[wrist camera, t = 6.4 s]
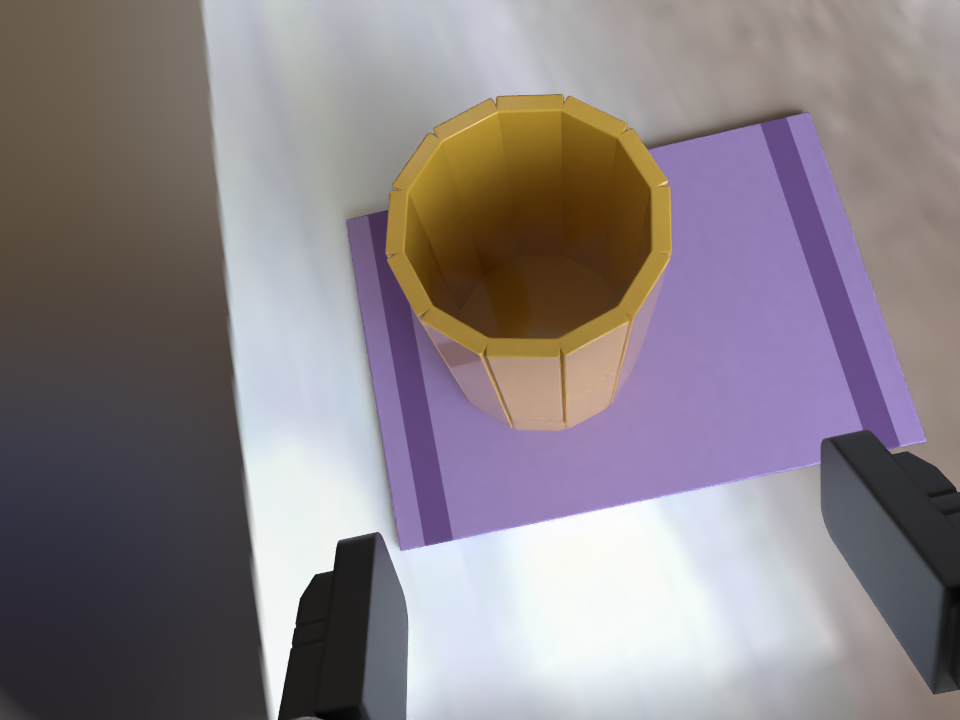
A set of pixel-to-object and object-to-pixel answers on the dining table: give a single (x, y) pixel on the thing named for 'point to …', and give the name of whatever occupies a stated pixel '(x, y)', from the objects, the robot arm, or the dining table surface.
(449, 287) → the tumbler
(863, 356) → the cloth
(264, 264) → the dining table surface
